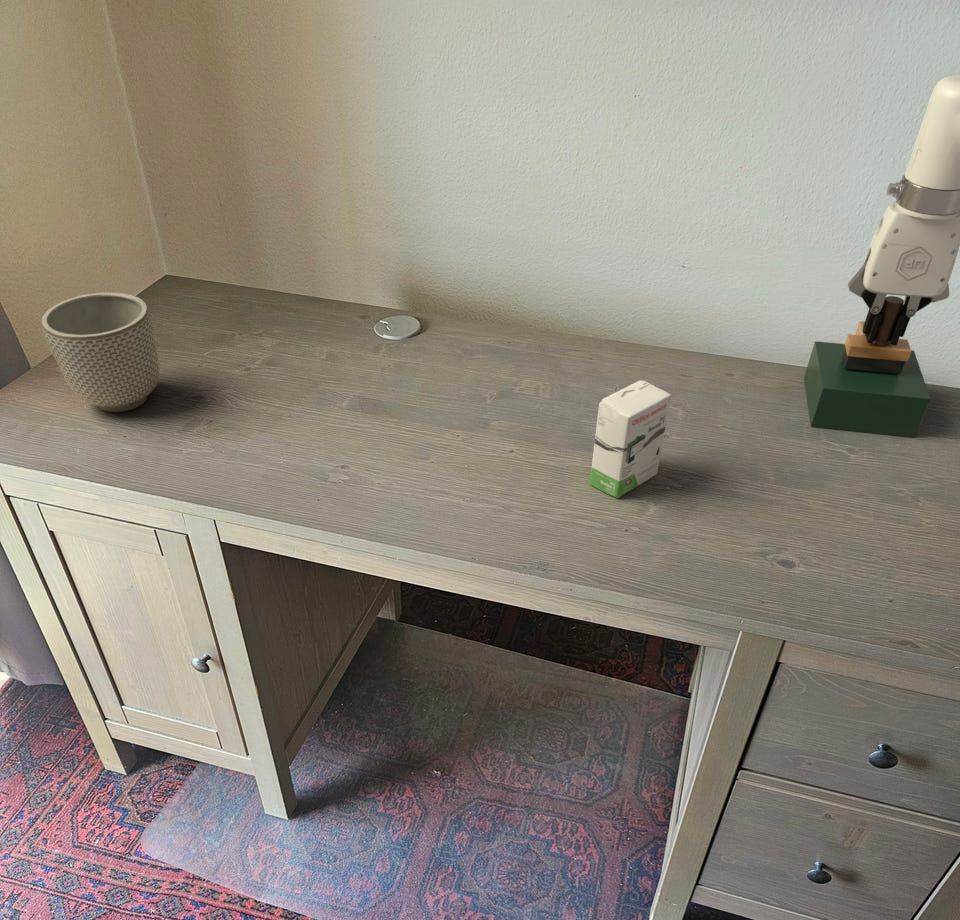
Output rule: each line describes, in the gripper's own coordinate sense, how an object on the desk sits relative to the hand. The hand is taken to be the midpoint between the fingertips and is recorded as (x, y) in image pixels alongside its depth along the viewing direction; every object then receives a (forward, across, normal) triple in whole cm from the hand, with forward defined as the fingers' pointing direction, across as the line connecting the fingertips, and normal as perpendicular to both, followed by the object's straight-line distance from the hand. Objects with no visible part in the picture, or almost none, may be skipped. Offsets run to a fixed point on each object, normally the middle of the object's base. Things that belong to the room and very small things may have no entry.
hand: (880, 338), depth 118 cm
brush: (+4, 0, 0) cm, 4 cm away
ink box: (+11, -32, -25) cm, 42 cm away
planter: (+10, -105, -20) cm, 108 cm away
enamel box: (+10, 0, 0) cm, 10 cm away
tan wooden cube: (+4, 0, +4) cm, 6 cm away
